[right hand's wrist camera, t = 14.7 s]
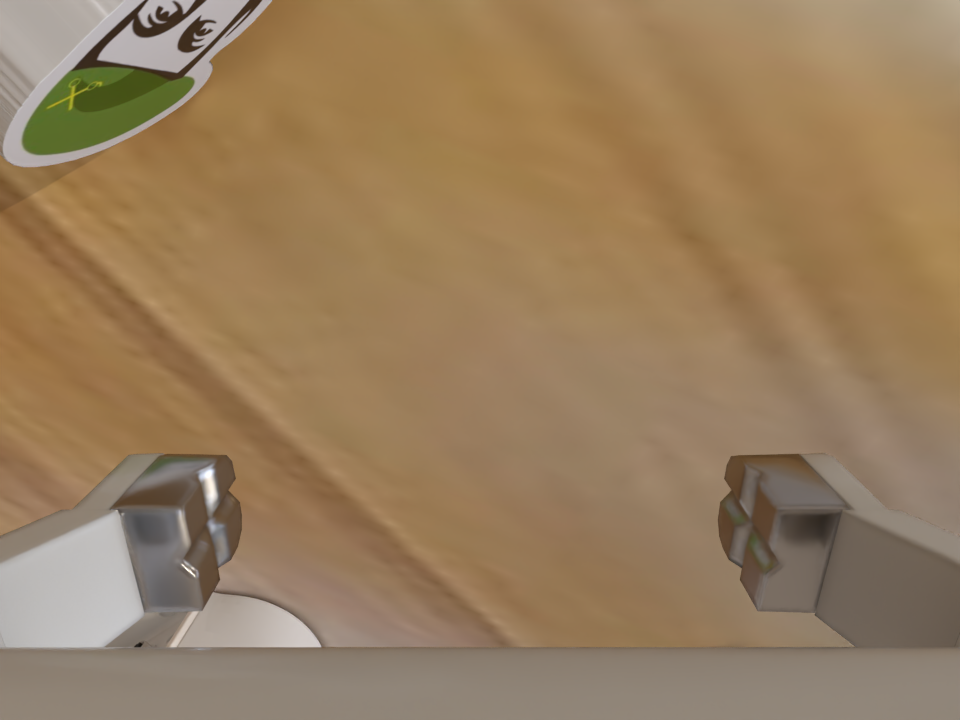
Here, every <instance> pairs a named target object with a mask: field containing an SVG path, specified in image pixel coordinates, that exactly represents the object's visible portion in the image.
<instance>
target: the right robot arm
mask: <svg viewBox="0 0 960 720" xmlns="http://www.w3.org/2000/svg"><path fill="white" fill-rule="evenodd" d="M235 479H236V478H235V473H234V468H233V464H232V461H231V459H230V458H229V457H228V456H227V455H203V454H163V453H151V454H133V455H128V456H127V457H126V458H125V459H124V460H123V461H122V462H121V463H120V464H119V465H118V466H117V467H116V468H115V469H114V470H113V471H111V472H110V473H109V474H108V475H107V476H106V477H105V478H104V479H103V480H102V481H101V482H100V483H99V484H98V485H97V486H96V487H95V488H94V489H93V490H92V491H91V492H90V493H89V494H88V495H87V496H86V497H85V498H84V499H83V500H81V501H80V502H79V503H78V504H77V505H76V506H75V507H74V508H73V509H72V510H60V511H58V512H55V513H53V514H51V515H48V516H46V517H44V518H41V519H39V520H37V521H34V522H32V523H30V524H27V525H25V526H23V527H20V528H18V529H16V530H13V531H11V532H9V533H6V534H4V535H2V536H0V720H960V536H958V535H956V534H954V533H951V532H949V531H947V530H944V529H942V528H940V527H937V526H935V525H933V524H930V523H928V522H926V521H923V520H921V519H919V518H916V517H914V516H912V515H909V514H907V513H905V512H902V511H900V510H888V509H887V508H886V507H885V506H884V505H883V504H882V503H881V502H880V501H879V500H878V499H877V498H875V497H874V496H873V495H872V494H871V493H870V492H869V491H868V490H867V489H866V488H865V487H864V486H863V485H862V484H861V483H860V482H859V481H858V480H857V479H856V478H855V477H854V476H853V475H852V474H851V473H850V472H849V471H848V470H847V469H846V468H845V467H843V466H842V465H841V464H840V463H839V462H838V461H837V460H836V459H835V458H834V457H833V456H831V455H828V454H826V453H814V454H778V455H738V456H731V457H730V460H729V462H728V464H727V467H726V472H725V478H724V479H725V481H726V482H727V484H728V485H729V487H730V488H731V490H732V491H731V492H730V493H729V494H728V495H727V496H726V497H725V498H724V499H723V500H722V501H721V502H720V508H719V515H718V526H719V537H720V540H721V543H722V547H723V549H724V551H725V553H726V555H727V557H728V559H729V560H730V561H732V562H733V563H735V564H736V565H738V566H739V567H741V568H742V571H741V577H740V581H741V582H742V584H743V586H744V588H745V589H746V591H747V593H748V595H749V597H750V598H751V600H752V602H753V604H754V605H755V607H756V609H757V611H771V612H807V613H815V616H817V617H818V618H819V619H820V620H822V621H823V622H824V623H826V624H827V625H828V626H830V627H831V628H832V629H833V630H835V631H836V632H837V633H839V634H840V635H841V636H843V637H844V638H845V639H846V640H848V641H849V642H850V643H852V644H853V645H854V646H855V647H321V645H320V643H319V641H318V640H317V638H316V637H315V635H314V634H313V633H312V632H311V630H310V629H309V628H308V627H307V626H306V625H305V624H304V623H303V622H301V621H300V620H299V619H298V618H296V617H295V616H294V615H292V614H291V613H289V612H287V611H286V610H284V609H282V608H280V607H278V606H276V605H273V604H271V603H268V602H266V601H263V600H259V599H255V598H251V597H246V596H240V595H229V594H220V593H215V592H213V591H214V589H215V588H216V586H217V584H218V582H219V581H220V577H219V571H218V568H219V567H221V566H222V565H224V564H225V563H227V562H228V561H230V560H231V559H232V557H233V555H234V553H235V551H236V549H237V547H238V543H239V539H240V535H241V530H242V513H241V507H240V502H239V501H238V500H237V499H236V498H235V497H234V496H233V495H232V494H231V493H230V492H229V491H228V490H229V488H230V487H231V485H232V484H233V482H234V481H235Z"/></svg>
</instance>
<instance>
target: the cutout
mask: <svg viewBox="0 0 960 720" xmlns="http://www.w3.org/2000/svg"><path fill="white" fill-rule="evenodd" d="M271 1H272V0H0V155H1V156H2V157H3V158H4V159H5V160H6V161H8V162H9V163H11V164H12V165H16V166H21V167H39V166H49V165H54V164H58V163H63V162H68V161H71V160H76V159H79V158H82V157H85V156H88V155H91V154H94V153H96V152H99V151H101V150H104V149H106V148H109V147H111V146H113V145H116V144H117V143H119V142H121V141H123V140H126V139H127V138H129V137H132V136H133V135H135V134H137V133H139V132H141V131H143V130H144V129H146V128H148V127H149V126H151V125H153V124H154V123H156V122H158V121H159V120H161V119H162V118H164V117H165V116H167V115H168V114H170V113H172V112H173V111H175V110H176V109H177V108H179V107H180V106H181V105H183V104H184V103H185V102H186V101H188V100H189V99H190V98H191V97H192V96H193V95H195V94H196V93H197V92H198V91H199V89H200V88H201V87H202V86H203V85H204V84H205V83H206V81H207V80H208V78H209V77H210V75H211V72H212V71H213V67H212V64H211V62H210V60H211V59H212V58H213V56H214V55H215V54H217V53H218V52H219V51H220V50H221V49H222V48H224V47H225V46H227V45H228V44H229V43H230V42H232V41H233V40H234V39H235V38H237V37H238V36H239V35H240V34H241V33H242V32H243V31H244V30H245V29H246V28H247V27H248V26H249V25H250V24H252V23H253V22H254V21H255V20H256V18H257V17H258V16H259V15H260V14H261V13H262V12H263V11H264V10H265V9H266V7H267V6H268V5H269V4H270V3H271Z"/></svg>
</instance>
